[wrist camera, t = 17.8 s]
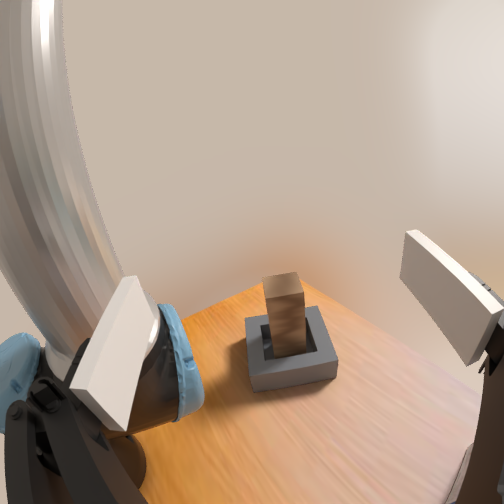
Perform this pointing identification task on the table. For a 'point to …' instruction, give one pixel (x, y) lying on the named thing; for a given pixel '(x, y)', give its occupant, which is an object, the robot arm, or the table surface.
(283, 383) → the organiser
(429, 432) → the table surface
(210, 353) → the table surface
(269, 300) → the walnut block
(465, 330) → the robot arm
